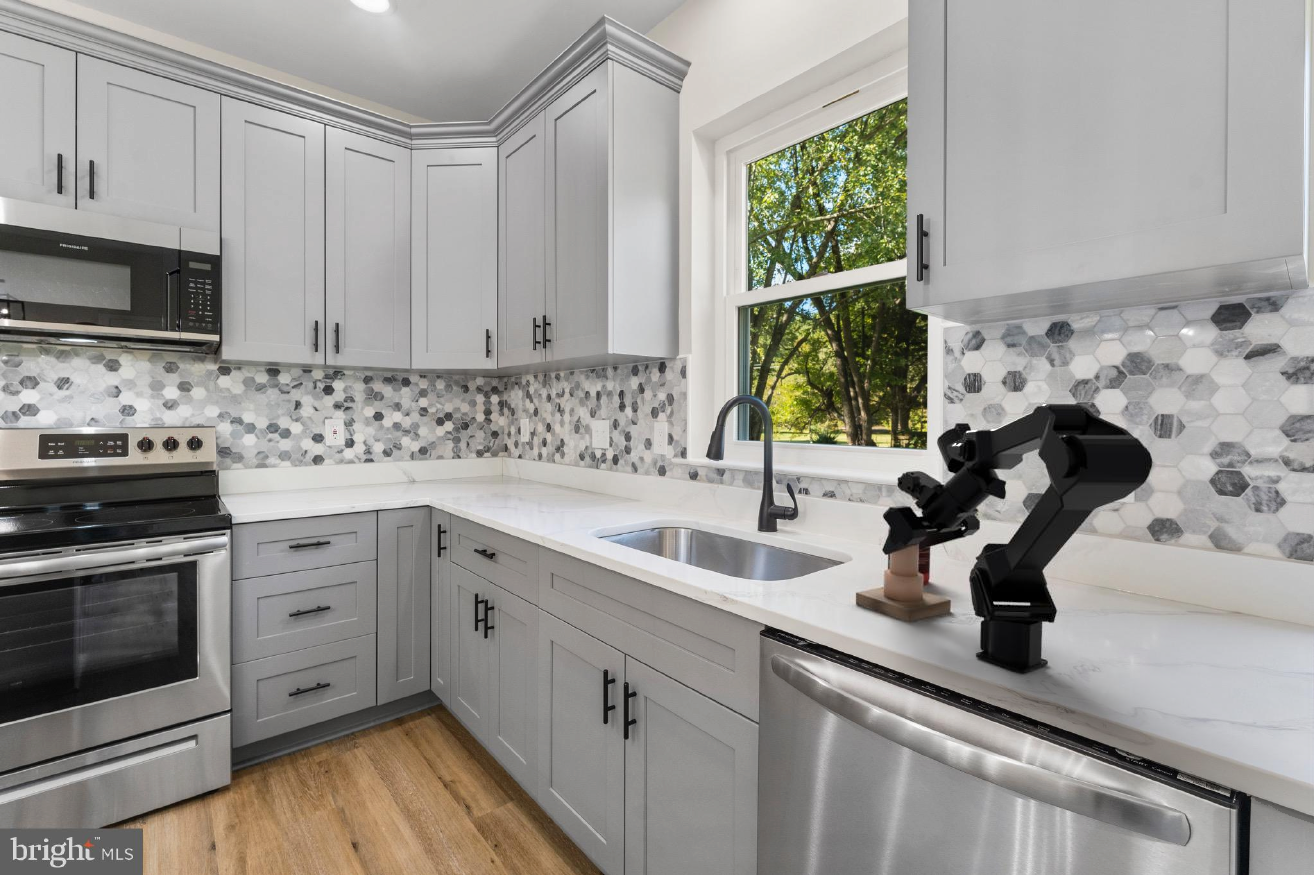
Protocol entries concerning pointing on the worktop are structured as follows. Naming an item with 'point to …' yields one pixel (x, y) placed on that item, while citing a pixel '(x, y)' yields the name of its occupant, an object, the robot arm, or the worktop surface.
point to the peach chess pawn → (904, 576)
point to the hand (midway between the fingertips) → (901, 549)
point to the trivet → (903, 605)
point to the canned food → (921, 563)
